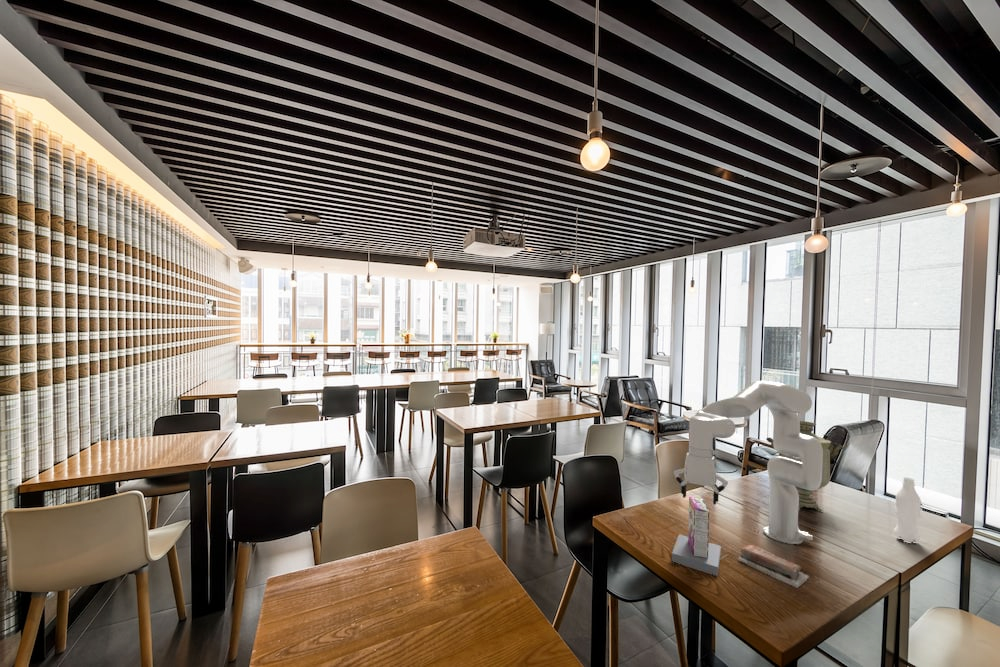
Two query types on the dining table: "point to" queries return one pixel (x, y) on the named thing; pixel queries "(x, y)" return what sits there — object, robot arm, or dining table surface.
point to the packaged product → (772, 565)
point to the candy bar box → (698, 527)
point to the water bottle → (907, 512)
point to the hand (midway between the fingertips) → (699, 499)
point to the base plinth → (685, 557)
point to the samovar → (805, 494)
